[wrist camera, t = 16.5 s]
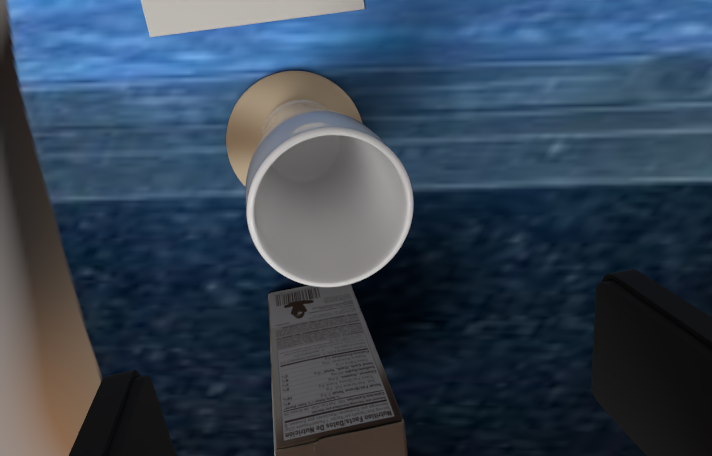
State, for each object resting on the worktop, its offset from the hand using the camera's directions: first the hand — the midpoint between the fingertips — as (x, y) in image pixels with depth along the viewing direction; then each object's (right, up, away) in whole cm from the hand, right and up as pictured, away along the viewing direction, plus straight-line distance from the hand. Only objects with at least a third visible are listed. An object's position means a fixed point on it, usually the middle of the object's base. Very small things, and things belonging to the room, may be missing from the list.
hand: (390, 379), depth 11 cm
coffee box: (-4, -5, +30) cm, 30 cm away
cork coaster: (-5, +9, +24) cm, 26 cm away
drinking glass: (-4, +9, +24) cm, 26 cm away
